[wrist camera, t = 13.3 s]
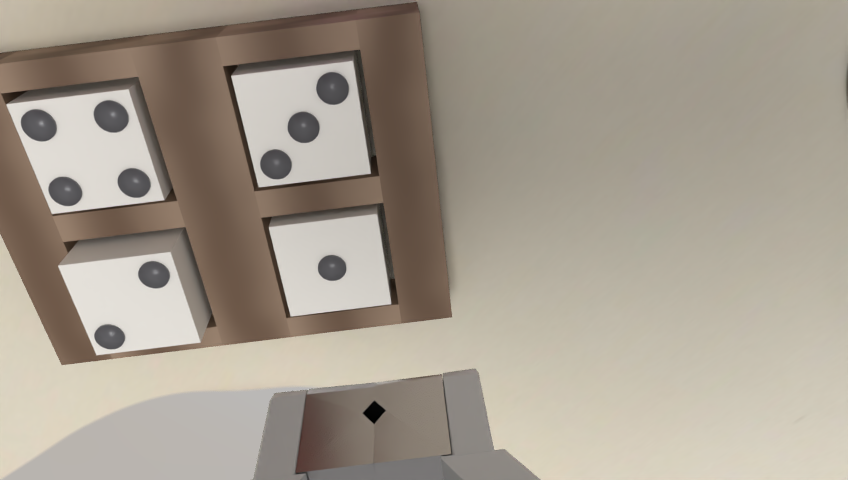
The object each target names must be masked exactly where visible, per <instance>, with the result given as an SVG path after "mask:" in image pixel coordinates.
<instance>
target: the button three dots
mask: <svg viewBox="0 0 848 480" xmlns="http://www.w3.org/2000/svg"><path fill="white" fill-rule="evenodd" d="M231 78H232V82H233V86H234V90H235V94H236V98H237V102H238V106H239V110H240V114H241V118H242V122H243V126H244V130H245V134H246V138H247V142H248V146H249V150H250V154H251V158H252V162H253V166H254V171H255V175H256V179H257V183H258V187H267V186H275V185H283V184H291V183H299V182H307V181H316V180H324V179H332V178H340V177H348V176H356V175H364V174H371V146H370V140H369V133H368V127H367V120H366V114H365V107H364V101H363V94H362V88H361V81H360V75H359V69H358V62H357V56H356V50H352V51H343V52H335V53H327V54H319V55H311V56H303V57H295V58H286V59H278V60H270V61H262V62H254V63H246V64H240V65H239V66H238V67H237V69H236V70H235V71H234V73H233V74H232V75H231Z"/></svg>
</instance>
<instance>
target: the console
mask: <svg viewBox="0 0 848 480" xmlns="http://www.w3.org/2000/svg"><path fill="white" fill-rule="evenodd" d="M352 50H360V52H361V59H362V65H363V72H364V78H365V85H366V92H367V98H368V105H369V111H370V118H371V125H372V131H373V138H374V144H375V151H376V156H374V157H371V174H364V175H356V176H348V177H340V178H332V179H324V180H316V181H307V182H299V183H291V184H283V185H275V186H267V187H258V183H257V179H256V175H255V171H254V166H253V162H252V158H251V154H250V150H249V146H248V142H247V138H246V134H245V130H244V126H243V122H242V118H241V114H240V110H239V106H238V102H237V98H236V94H235V90H234V86H233V82H232V78H231V75H232V74H233V73H234V71H235V70H236V69H237V67H238V64H246V63H254V62H262V61H270V60H278V59H286V58H295V57H303V56H311V55H319V54H327V53H335V52H343V51H352ZM132 77H138V78H139V81H140V84H141V87H142V90H143V94H144V97H145V100H146V103H147V106H148V110H149V113H150V116H151V119H152V122H153V125H154V129H155V132H156V135H157V138H158V141H159V144H160V148H161V151H162V154H163V157H164V160H165V164H166V167H167V170H168V173H169V176H170V179H171V183H172V186H173V188H172V190H171V191H170V193H169V194H168V196H167V197H166V199H165V200H162V201H154V202H146V203H138V204H130V205H121V206H113V207H105V208H97V209H89V210H81V211H73V212H64V213H56V214H52V213H51V211H50V208H49V206H48V203H47V201H46V199H45V196H44V194H43V191H42V189H41V187H40V184H39V182H38V179H37V177H36V175H35V172H34V170H33V168H32V165H31V163H30V160H29V158H28V156H27V153H26V151H25V148H24V146H23V144H22V141H21V139H20V136H19V134H18V132H17V129H16V127H15V125H14V122H13V120H12V117H11V115H10V113H9V110H8V108H7V105H6V104H7V103H9V102H11V101H12V100H14V99H16V98H17V97H19V96H20V95H22V94H24V93H25V92H27V91H29V90H34V89H42V88H50V87H58V86H67V85H75V84H83V83H91V82H99V81H107V80H115V79H124V78H132ZM377 203H383V204H384V210H385V217H386V224H387V230H388V237H389V243H390V250H391V257H392V263H393V270H394V276H395V279H391V304H389V305H381V306H373V307H365V308H357V309H348V310H340V311H332V312H324V313H316V314H308V315H299V316H290V312H289V308H288V304H287V300H286V296H285V292H284V288H283V284H282V280H281V276H280V272H279V267H278V263H277V259H276V255H275V251H274V247H273V243H272V239H271V235H270V231H269V224H270V221H271V218H272V216H279V215H288V214H296V213H304V212H312V211H320V210H328V209H336V208H345V207H353V206H361V205H369V204H377ZM182 227H186V230H187V233H188V237H189V240H190V243H191V246H192V249H193V252H194V256H195V259H196V262H197V265H198V268H199V271H200V275H201V278H202V281H203V284H204V287H205V291H206V294H207V297H208V300H209V303H210V306H211V310H212V314H211V317H210V320H209V322H208V325H207V327H206V330H205V333H204V335H203V338H202V341H201V343H193V344H185V345H177V346H168V347H160V348H152V349H144V350H136V351H128V352H120V353H111V354H103V355H96V353H95V351H94V348H93V346H92V344H91V341H90V339H89V337H88V334H87V332H86V330H85V327H84V325H83V323H82V321H81V318H80V316H79V314H78V311H77V309H76V307H75V304H74V302H73V300H72V297H71V295H70V293H69V290H68V288H67V286H66V283H65V281H64V279H63V277H62V274H61V272H60V270H59V267H58V265H59V264H60V263H61V261H62V260H63V259H64V258H65V257H66V255H67V254H68V253H69V252H70V250H71V249H72V248H73V247H74V246H75V244H76V243H77V242H78V241H79V240H84V239H92V238H100V237H108V236H116V235H125V234H133V233H141V232H149V231H157V230H165V229H173V228H182ZM0 234H1V236H2V238H3V240H4V242H5V245H6V247H7V249H8V251H9V253H10V255H11V257H12V260H13V262H14V264H15V266H16V268H17V270H18V272H19V275H20V277H21V279H22V281H23V283H24V285H25V287H26V290H27V292H28V294H29V296H30V298H31V300H32V302H33V305H34V307H35V309H36V311H37V313H38V315H39V317H40V320H41V322H42V324H43V326H44V328H45V330H46V332H47V334H48V337H49V339H50V341H51V343H52V345H53V347H54V349H55V352H56V354H57V356H58V358H59V360H60V362H61V364H62V365H66V364H74V363H82V362H91V361H99V360H107V359H115V358H123V357H131V356H140V355H148V354H156V353H164V352H172V351H180V350H188V349H197V348H205V347H213V346H221V345H229V344H237V343H246V342H254V341H262V340H270V339H278V338H286V337H294V336H303V335H311V334H319V333H327V332H335V331H343V330H352V329H360V328H368V327H376V326H384V325H392V324H400V323H409V322H417V321H425V320H433V319H441V318H449V317H452V312H451V303H450V293H449V284H448V275H447V265H446V256H445V247H444V237H443V228H442V218H441V209H440V200H439V190H438V181H437V172H436V162H435V153H434V143H433V134H432V125H431V115H430V106H429V97H428V87H427V78H426V68H425V59H424V50H423V40H422V31H421V22H420V12H419V9H418V5H417V2H413V3H405V4H397V5H389V6H381V7H372V8H364V9H356V10H348V11H340V12H332V13H324V14H315V15H307V16H299V17H291V18H283V19H275V20H267V21H258V22H250V23H242V24H234V25H226V26H218V27H210V28H201V29H193V30H185V31H177V32H169V33H161V34H153V35H144V36H136V37H128V38H120V39H112V40H104V41H96V42H87V43H79V44H71V45H63V46H55V47H47V48H39V49H30V50H22V51H14V52H6V53H0Z"/></svg>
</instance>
